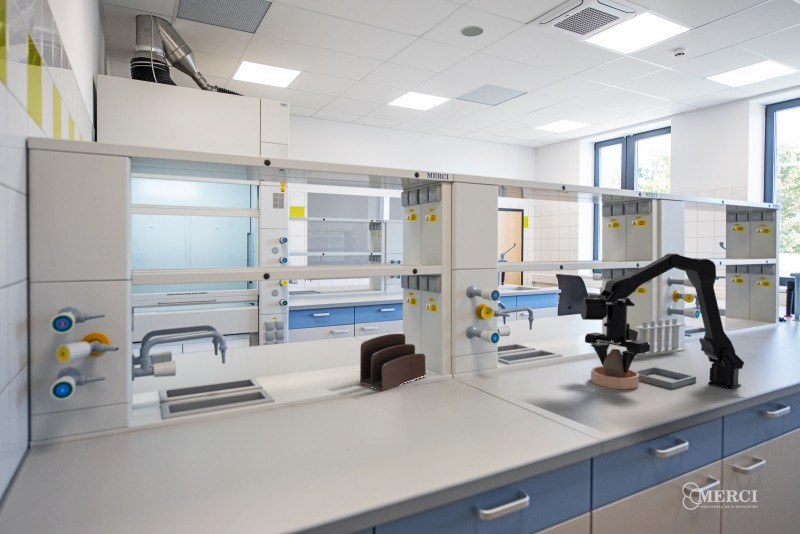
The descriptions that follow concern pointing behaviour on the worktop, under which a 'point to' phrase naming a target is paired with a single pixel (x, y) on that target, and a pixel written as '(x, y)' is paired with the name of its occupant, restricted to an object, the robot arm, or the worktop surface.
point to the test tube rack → (660, 337)
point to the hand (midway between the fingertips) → (615, 369)
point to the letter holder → (389, 362)
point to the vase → (614, 364)
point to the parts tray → (684, 378)
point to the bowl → (615, 379)
